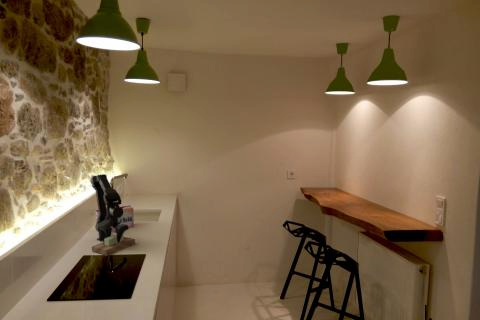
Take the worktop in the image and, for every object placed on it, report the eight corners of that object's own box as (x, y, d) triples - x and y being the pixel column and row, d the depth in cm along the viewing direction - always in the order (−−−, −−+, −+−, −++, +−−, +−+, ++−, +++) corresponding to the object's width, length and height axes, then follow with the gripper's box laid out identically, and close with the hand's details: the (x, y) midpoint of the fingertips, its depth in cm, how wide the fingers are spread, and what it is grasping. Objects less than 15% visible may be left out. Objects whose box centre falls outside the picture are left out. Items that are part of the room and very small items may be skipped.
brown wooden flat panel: (92, 251, 189) (91, 246, 189) (120, 240, 206) (120, 235, 206) (106, 255, 183) (106, 250, 183) (135, 243, 201) (135, 238, 200)
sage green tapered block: (104, 250, 192) (104, 238, 191) (119, 244, 200) (118, 233, 199) (109, 251, 190) (108, 239, 189) (123, 245, 198) (122, 234, 198)
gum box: (132, 223, 240) (131, 204, 238) (136, 226, 233) (135, 207, 232) (96, 230, 226) (95, 210, 225) (99, 233, 220) (97, 213, 218)
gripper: (88, 215, 190) (90, 242, 192) (112, 220, 181) (113, 248, 183) (105, 210, 200) (107, 236, 202) (128, 214, 191) (129, 242, 193)
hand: (113, 240), depth 194 cm, fingers open, 7 cm apart
